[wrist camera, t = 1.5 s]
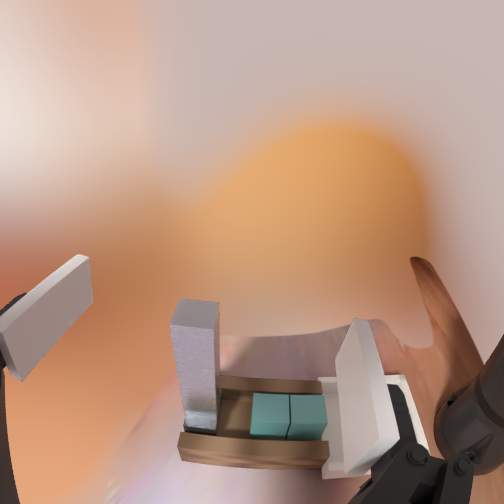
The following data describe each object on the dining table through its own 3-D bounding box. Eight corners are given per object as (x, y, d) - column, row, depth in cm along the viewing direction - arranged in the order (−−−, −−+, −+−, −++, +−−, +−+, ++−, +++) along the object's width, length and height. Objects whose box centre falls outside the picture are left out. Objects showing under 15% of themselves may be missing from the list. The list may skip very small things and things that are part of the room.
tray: (396, 387, 39) (404, 374, 38) (419, 466, 27) (430, 455, 26) (313, 390, 40) (318, 376, 38) (322, 479, 27) (328, 470, 26)
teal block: (283, 412, 35) (288, 394, 33) (284, 439, 31) (289, 423, 29) (251, 411, 35) (253, 393, 33) (249, 438, 31) (251, 421, 29)
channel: (314, 398, 38) (321, 380, 36) (321, 468, 29) (330, 455, 27) (196, 390, 38) (194, 372, 37) (181, 460, 29) (177, 446, 27)
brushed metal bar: (221, 402, 35) (221, 294, 28) (216, 441, 30) (211, 339, 22) (194, 399, 36) (182, 291, 28) (186, 437, 30) (166, 334, 22)
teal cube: (317, 413, 34) (324, 395, 33) (319, 439, 31) (327, 423, 29) (285, 412, 35) (290, 394, 33) (286, 439, 31) (291, 423, 29)
